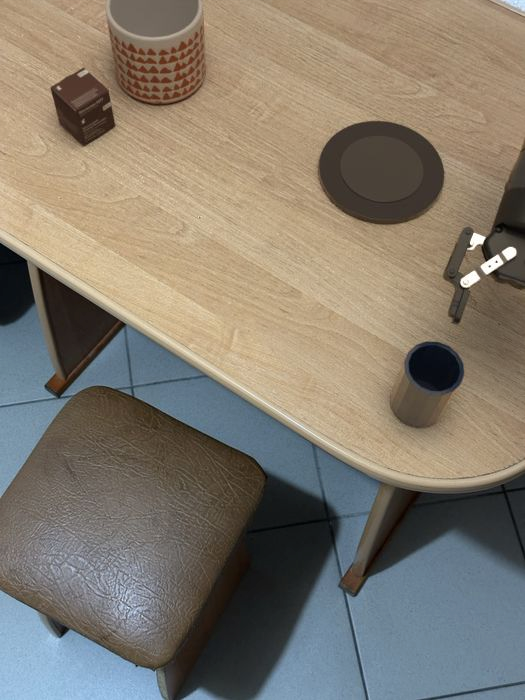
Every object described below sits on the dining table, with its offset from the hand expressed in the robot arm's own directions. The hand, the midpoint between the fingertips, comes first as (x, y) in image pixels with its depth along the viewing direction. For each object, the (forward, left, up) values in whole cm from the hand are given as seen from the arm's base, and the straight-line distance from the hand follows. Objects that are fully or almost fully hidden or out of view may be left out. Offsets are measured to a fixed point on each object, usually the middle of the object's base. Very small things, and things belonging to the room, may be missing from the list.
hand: (492, 335), depth 92 cm
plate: (+8, -34, -15) cm, 39 cm away
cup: (+5, +2, -15) cm, 16 cm away
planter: (+41, -52, -16) cm, 69 cm away
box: (+51, -41, -16) cm, 68 cm away
